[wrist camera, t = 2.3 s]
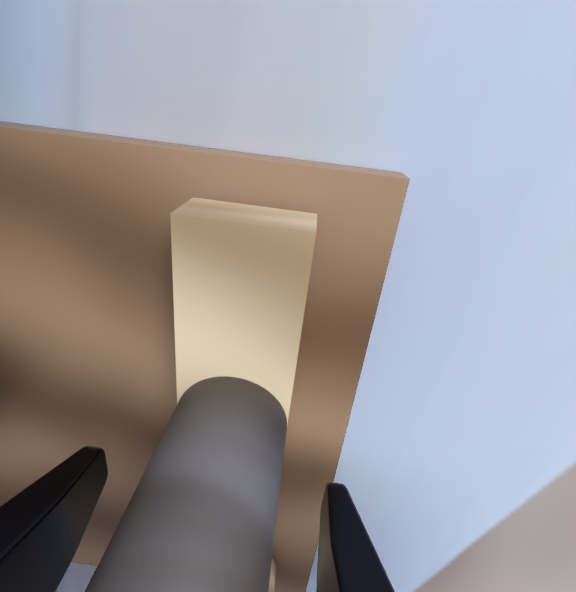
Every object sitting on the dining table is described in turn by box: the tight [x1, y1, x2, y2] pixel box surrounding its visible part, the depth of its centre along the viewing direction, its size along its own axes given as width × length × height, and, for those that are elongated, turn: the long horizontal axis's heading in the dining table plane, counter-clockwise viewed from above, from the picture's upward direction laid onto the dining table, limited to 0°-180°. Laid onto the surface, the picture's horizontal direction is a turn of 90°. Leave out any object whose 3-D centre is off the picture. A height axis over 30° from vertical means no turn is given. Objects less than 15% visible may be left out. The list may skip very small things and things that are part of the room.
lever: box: [85, 197, 317, 592], centre depth 9 cm, size 18×4×8 cm, turn 174°
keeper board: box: [0, 121, 410, 592], centre depth 12 cm, size 19×19×5 cm
